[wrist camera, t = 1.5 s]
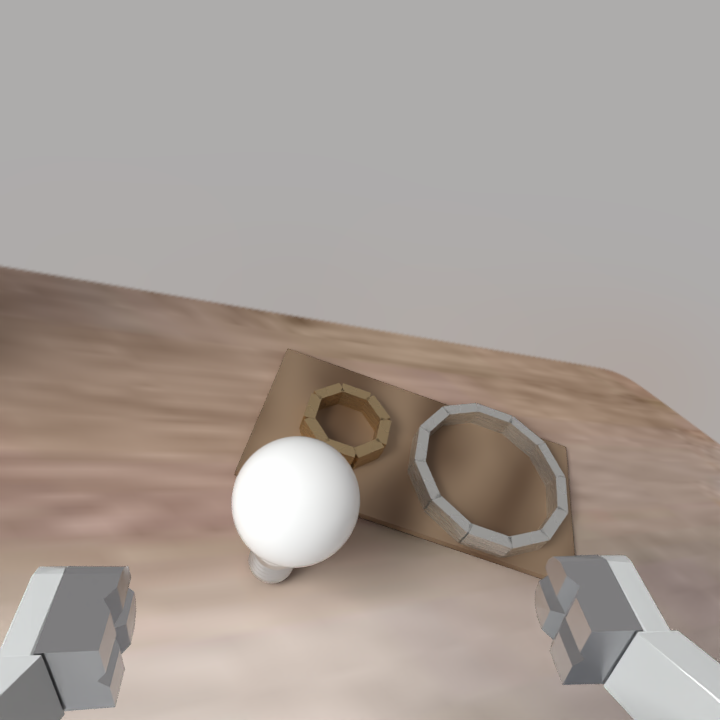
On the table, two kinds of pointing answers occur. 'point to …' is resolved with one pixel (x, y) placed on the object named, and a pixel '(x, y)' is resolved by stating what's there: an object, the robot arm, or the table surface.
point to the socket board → (430, 463)
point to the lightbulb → (294, 505)
